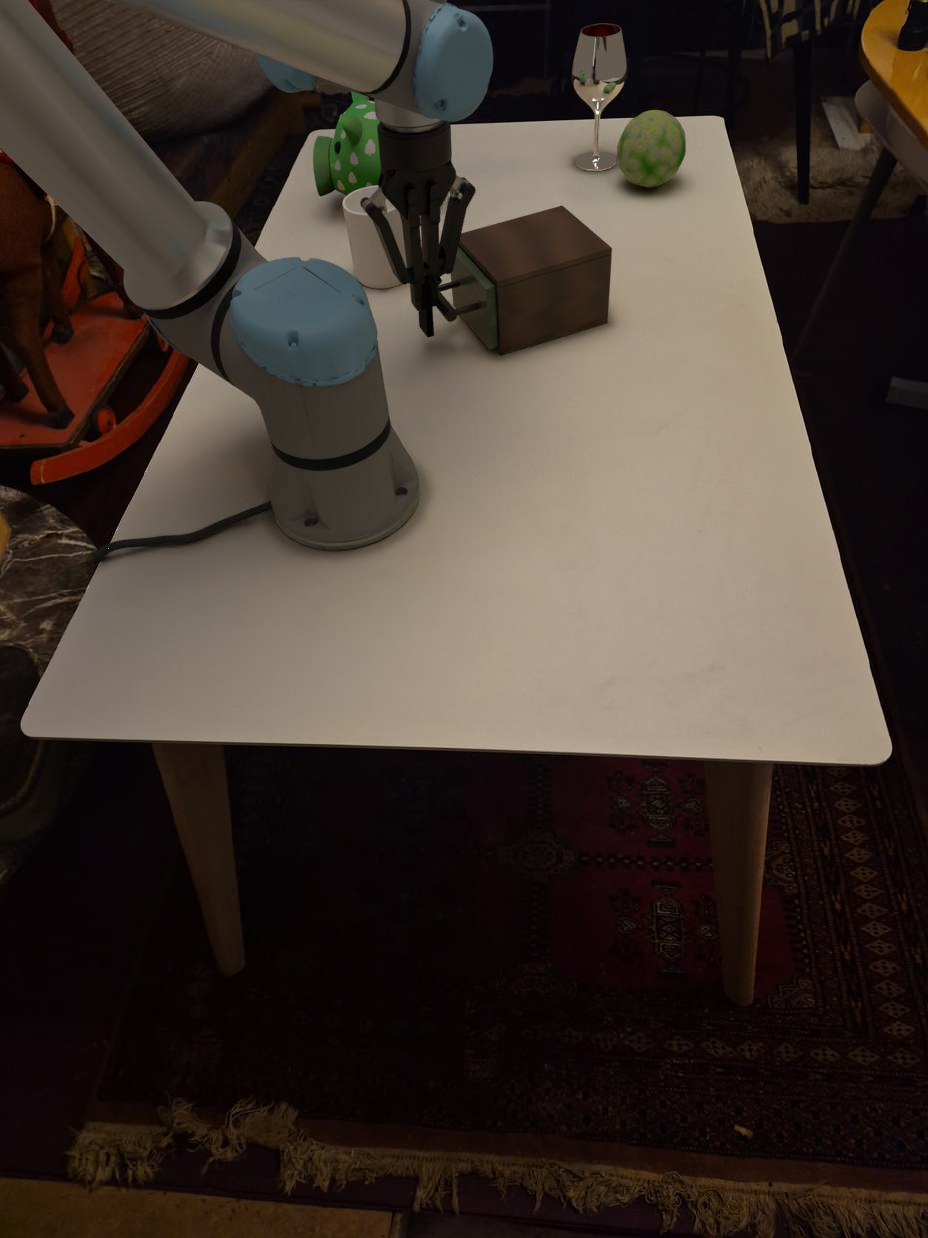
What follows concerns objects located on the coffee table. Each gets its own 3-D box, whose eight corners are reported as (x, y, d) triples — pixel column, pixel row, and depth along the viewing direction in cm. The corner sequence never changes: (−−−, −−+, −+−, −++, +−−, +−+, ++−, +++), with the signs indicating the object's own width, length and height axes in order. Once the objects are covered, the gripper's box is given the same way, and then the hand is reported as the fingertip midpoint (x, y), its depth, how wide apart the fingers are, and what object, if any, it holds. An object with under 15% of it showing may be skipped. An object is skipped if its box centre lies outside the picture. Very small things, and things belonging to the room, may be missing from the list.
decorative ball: (684, 197, 126) (693, 124, 118) (616, 200, 127) (620, 127, 119) (679, 168, 132) (687, 96, 124) (613, 171, 133) (617, 100, 125)
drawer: (456, 359, 102) (450, 299, 96) (421, 314, 109) (414, 255, 103) (589, 318, 106) (591, 258, 100) (547, 277, 112) (547, 218, 107)
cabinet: (500, 355, 103) (497, 281, 96) (460, 307, 111) (454, 234, 104) (607, 322, 106) (612, 247, 99) (561, 277, 114) (562, 204, 107)
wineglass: (607, 177, 132) (614, 42, 118) (560, 168, 135) (561, 36, 121) (630, 156, 136) (639, 23, 122) (583, 148, 139) (587, 18, 126)
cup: (348, 288, 116) (334, 213, 108) (371, 245, 124) (359, 172, 116) (407, 290, 115) (397, 214, 107) (427, 246, 122) (419, 172, 114)
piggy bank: (334, 188, 137) (315, 83, 125) (447, 181, 135) (438, 74, 124) (321, 231, 128) (299, 122, 116) (442, 224, 126) (431, 113, 115)
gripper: (366, 143, 83) (389, 359, 101) (485, 120, 86) (486, 334, 104) (342, 117, 87) (368, 328, 105) (456, 97, 90) (462, 305, 108)
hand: (427, 331), depth 104 cm, fingers closed
